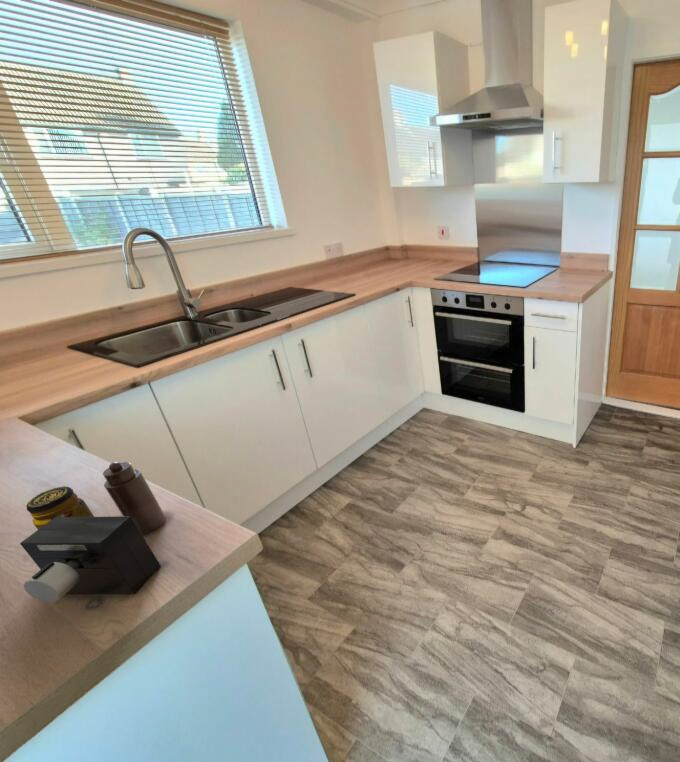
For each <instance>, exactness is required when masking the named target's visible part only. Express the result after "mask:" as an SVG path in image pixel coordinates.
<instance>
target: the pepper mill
mask: <svg viewBox="0 0 680 762" xmlns="http://www.w3.org/2000/svg"><path fill="white" fill-rule="evenodd" d="M102 475H103V477H104V479H105V482H104V484H103V487H104V489H105V490H106V492H107V493H108V495H109V496H110V498H111V499H112V502H113V503H114V504H115V507H116V508H117V510H118V511H119V512H120V515H121V516H131V518H132V519H133V521H134V523H135V524H136V526H137V528H138V529H139V531H140V532H141V534H142V536H145V535H149V534H151V533H153V532H155V531H157V530H159V529H160V528H161V527H163V525H164V524H166V522H167V516H166V514H165V513H164V511H163V509H162V507H161V506H160V504H159V502H158V500H157V498H156V497H155V495H154V493H153V491H152V489H151V488H150V486H149V484H148V483H147V481H146V479H145V477H144V476H143V473H142V472H141V470H140V469H136V468H135V469H134V468H133V465H132V463H130V462H128V461H124V462H120V461H113V462H110V464H109V465H108V467H107V468H106V469H105V470H103V472H102Z"/></svg>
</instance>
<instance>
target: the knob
mask: <svg viewBox="0 0 680 762" xmlns="http://www.w3.org/2000/svg"><path fill="white" fill-rule="evenodd" d="M80 565H81V562H80V561H79V559H78V558H72V559H71V560H70V561H69V562H68V563H66V564H64V563H60V562H50V563H48V564H47V565H46V566H45V567H44V568H42V569H40V570H39V571H37V572H36V573H35V574H34V575H32V577H30V578H29V579H28V580H26V581H25V582H24V584H23V588H24V590H25V592H26V593H27V594H28V595H29V596H31V597H32V598H34V600H35V599H36V600H38V601H41V602H42V603H43V602H44V603H51V604H52V603H56V602H58V601H59V600H61V599H62V598H63V597H64V596H65V595H67V594H66V593H67V592H68V591H69V590H70V589H71V588H72V587H74V586H75V585H76V584H77V583H78V582H79V581H80V575H79V574H78V572H77V571H76V569H77V568H78V567H79V566H80Z"/></svg>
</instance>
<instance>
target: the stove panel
mask: <svg viewBox="0 0 680 762" xmlns="http://www.w3.org/2000/svg"><path fill="white" fill-rule="evenodd" d="M19 545H20V546H21V547H22V549H24V550H25V552H26V553H27V554H28V555H29V557H30V558H31V559H32V561H33V562H34V563H35V565H36V566H37V567H38V568H39V569H40V570H41V569H42V568H44V567H45V566H46V565H47V564H48V563H50V562H60V563H64V564H66V563H68V562H69V561H70V560H71V559H72V558H78V559H79V561H80V562H81V565H80V566H79V567H78V568H77V569H76V571H77V572H78V574H79V575H80V581H79V582H78V583H77V584H76V585H75V586H74V587H72V588H71V589H70V590H69V591H68V592H67V593H66V594H65V595H136V594H137V593H138V592H139V591H140V590H141V589H142V588H143V586H145V584H147V582H148V581H150V579H151V578H152V577H153V576H154V575H155V574H156V573H157V572H158V571H159V569H160V568H161V567H162V565H161V564H160V562H159V560H158V558H157V557H156V556H155V554H154V552H153V550H152V549H151V547H150V546H149V544H148V542H147V540H146V539H145V537H144V535H142V534H141V532H140V531H139V529H138V528H137V526H136V524H135V523H134V521H133V519H132V518H131V516H122V515H120V516H119V515H118V516H117V515H116V516H94V517H55V518H54V519H52V520H51V521H50V522H48V523H47V524H45V525H44V526H43V527H41V528H40V529H39V530H38V529H36V531H34V532H33V533H32V534H30V535H29V536H27V537H26V538H24V540H22V541H21V542H20V543H19Z"/></svg>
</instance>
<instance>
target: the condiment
mask: <svg viewBox="0 0 680 762" xmlns="http://www.w3.org/2000/svg"><path fill="white" fill-rule="evenodd" d="M26 511H27V512H28V513H29V514H30V516H31V517H32V523H33V525H34V527H35V528H36V530H39V529H40V528H41V527H43V526H44V525H45V524H47V523H48V522H50V521H51V520H52V519H54V518H55V517H95V515H94V513H93V512H92V510H91V509H90V507H89V506H88V505H87V503H86V501H85V500H84V499H83V498H81V497H78V495H77V494H76V493H75V491H74V489H73V488H72V487H69V486H65V485H64V486H58V487H54V488H50V489H47V490H45V491H43V492H40V493H39V494H37V495H36V496H34V497H32V498H31V499H30V500H29V501H28V502H27V504H26Z"/></svg>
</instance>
